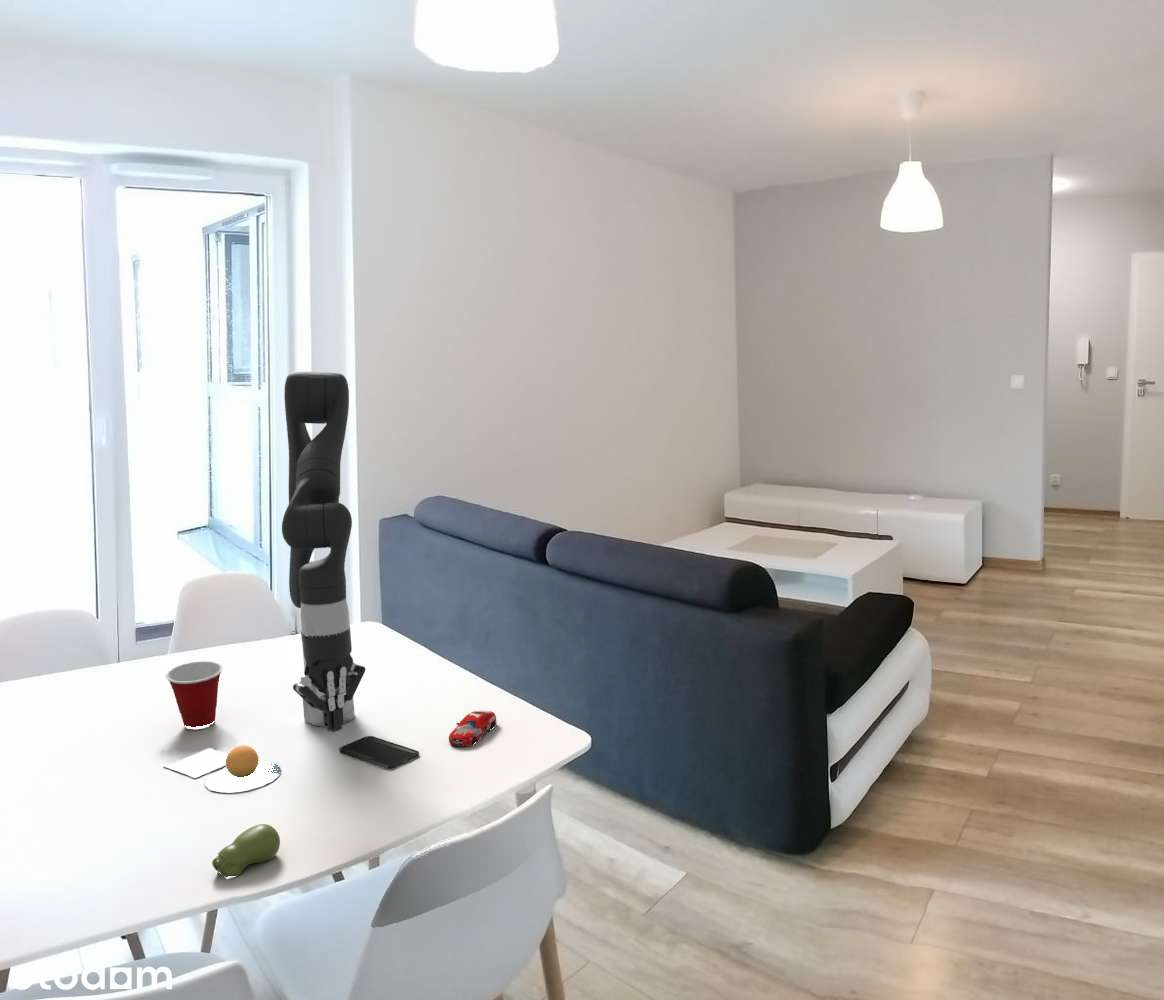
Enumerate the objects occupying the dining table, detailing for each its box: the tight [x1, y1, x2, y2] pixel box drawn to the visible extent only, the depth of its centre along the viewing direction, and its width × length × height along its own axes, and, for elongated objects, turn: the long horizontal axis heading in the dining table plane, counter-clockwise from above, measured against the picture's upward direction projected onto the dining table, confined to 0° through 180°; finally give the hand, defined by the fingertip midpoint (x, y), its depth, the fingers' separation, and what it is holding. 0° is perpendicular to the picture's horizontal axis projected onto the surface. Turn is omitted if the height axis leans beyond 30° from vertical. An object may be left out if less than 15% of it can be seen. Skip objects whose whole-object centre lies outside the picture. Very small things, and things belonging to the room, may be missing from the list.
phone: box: [338, 735, 420, 770], centre depth 186 cm, size 8×1×15 cm
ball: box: [225, 745, 259, 777], centre depth 179 cm, size 6×6×6 cm
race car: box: [448, 710, 497, 747], centre depth 194 cm, size 13×5×4 cm, turn 157°
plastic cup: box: [165, 660, 223, 727], centre depth 203 cm, size 11×11×12 cm
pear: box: [211, 823, 281, 877], centre depth 148 cm, size 6×5×10 cm
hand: (334, 729), depth 162 cm, fingers closed
